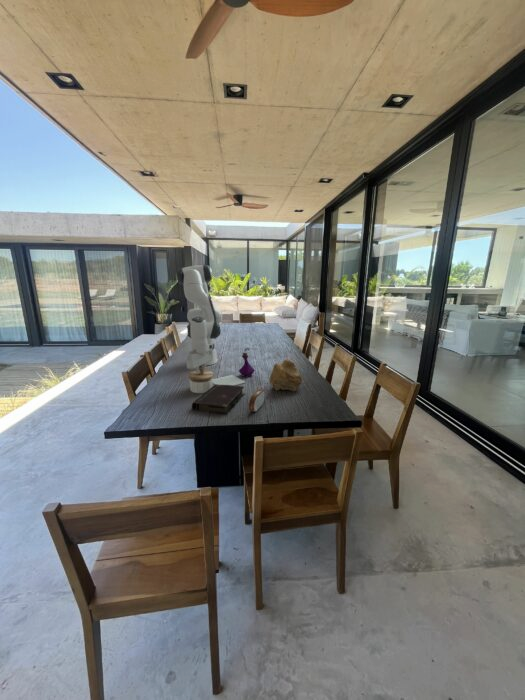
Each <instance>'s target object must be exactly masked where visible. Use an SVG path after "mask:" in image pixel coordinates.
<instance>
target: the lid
mask: <svg viewBox="0 0 525 700" xmlns="http://www.w3.org/2000/svg"><path fill="white" fill-rule="evenodd" d="M199 370H200V373H199V374H197V373H196V370H193V371H191V372H189V373H188V374H187V378H188V379H189V380H190V379H192V380H206V379H210V378H212V377H213V378H214V377H215V375H214V372H213V371H211V370H207V369H205V371H203V367H202V365H200V366H199Z"/></svg>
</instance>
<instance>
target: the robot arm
mask: <svg viewBox="0 0 525 700" xmlns="http://www.w3.org/2000/svg"><path fill="white" fill-rule="evenodd" d="M175 276H176V277H175V278H176V281H177V282H178V284H179V285H182V286H183V293H184V298H186V299H187V301H188V302H190V303H193V304H195V305H196V306H198V307H199V308H198V307H196V308H191V309H189V310H188V312H187V315H186V316H187V317H186V318H187V320H188V322H189V323H188V324H187V325H186V329H187V335H186V336H187V337H189V338H190V339H191V341H190V349H191V350H190V351H188V354H187V356H186V368H187V369H188V370H194V369H195V370H194V371H196V373H197V374H199V373H200V370H199V367H200V366H202V367H203V371H205V370H206V366H211V365H215V364H217V362H218V361H219V359H218V357H217V356H218V355H217V354H218V353H217V350H216V349H215V347H216V345H215V342H214V340H215V339H217V338H219V337H220V335H221V331H222V330H221V329H222V328H221V325H220V324H221V323H222V320H223V317H224V316H223V313H222V312H221V310H220V309H218V308H217V307H216V306H215V305H214V304H213V301H212V298H211V296H210V294H209V288H208V283H209V282H211V281H212V280H213V276H214V273H213V270H212V268H211V266H209V265H208V264H202V265H201V264H200V265H199V264H198V265H197V264H196V265H191V266H186V267H180V268H178V269H177V270H176V274H175Z"/></svg>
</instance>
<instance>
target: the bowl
mask: <svg viewBox="0 0 525 700" xmlns="http://www.w3.org/2000/svg"><path fill="white" fill-rule="evenodd" d="M213 379H214V376H213V377H212V378H210V379H206V380H192V379H189V389H190V392H192V393H194V394H195V393H196V394H204V393H205V392H206V391H208V390H209V389H210V388H212V387H213V386H214V384H213Z"/></svg>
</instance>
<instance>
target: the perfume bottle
mask: <svg viewBox="0 0 525 700" xmlns="http://www.w3.org/2000/svg"><path fill="white" fill-rule="evenodd" d="M243 351H244V352H242V355H241V358H243V360H244V363H243V366H241V368H240V369H239V370H238V373H239V374H240V375H241V376H243V377H246V378H248V377H250V376H252V375H253V374H254V372H255V368H253V366H252V365H251V364H250V362H249V361H248V358H249V355H248V353H247V351H250V348H249V347H244V349H243Z"/></svg>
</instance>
